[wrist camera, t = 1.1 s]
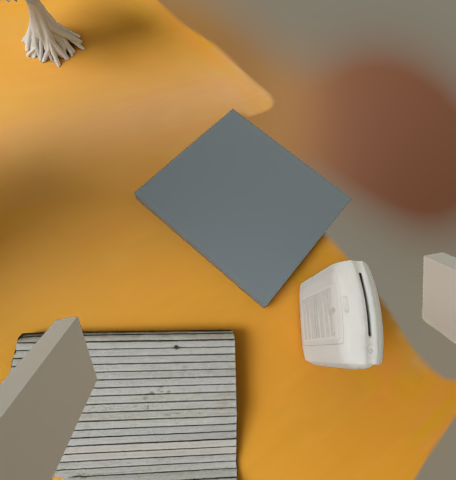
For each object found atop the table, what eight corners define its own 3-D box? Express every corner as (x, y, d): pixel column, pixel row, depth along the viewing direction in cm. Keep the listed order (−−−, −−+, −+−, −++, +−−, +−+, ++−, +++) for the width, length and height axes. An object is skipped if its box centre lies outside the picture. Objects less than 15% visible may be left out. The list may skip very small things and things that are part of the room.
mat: (232, 330, 38) (238, 327, 33) (238, 590, 29) (247, 631, 25) (27, 333, 35) (3, 329, 30) (-29, 619, 27) (-73, 671, 22)
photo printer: (336, 367, 37) (402, 371, 26) (301, 366, 37) (352, 370, 25) (327, 282, 41) (382, 252, 29) (295, 280, 40) (338, 249, 29)
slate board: (136, 198, 42) (134, 192, 40) (231, 116, 48) (232, 108, 47) (263, 308, 38) (266, 306, 37) (346, 203, 45) (351, 198, 44)
